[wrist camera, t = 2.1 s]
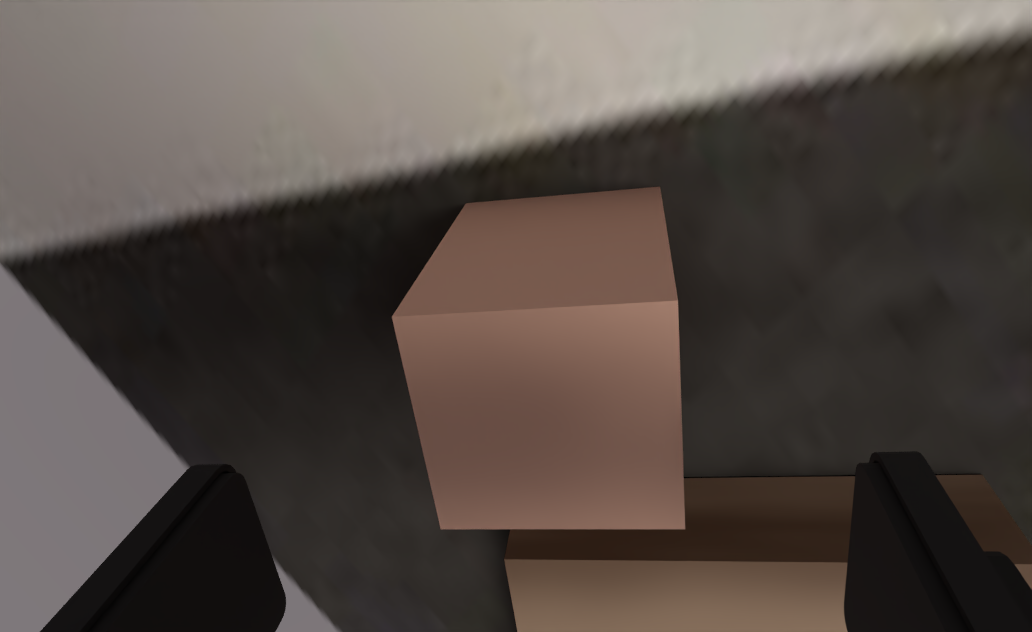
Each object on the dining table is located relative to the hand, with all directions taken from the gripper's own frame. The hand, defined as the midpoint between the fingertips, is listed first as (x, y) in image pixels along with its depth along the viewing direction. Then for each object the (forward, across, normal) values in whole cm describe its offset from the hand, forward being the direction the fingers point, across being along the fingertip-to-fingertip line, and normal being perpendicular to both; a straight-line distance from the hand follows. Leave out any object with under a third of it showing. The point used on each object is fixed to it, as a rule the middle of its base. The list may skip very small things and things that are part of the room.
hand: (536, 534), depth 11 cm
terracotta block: (+8, 0, -1) cm, 8 cm away
